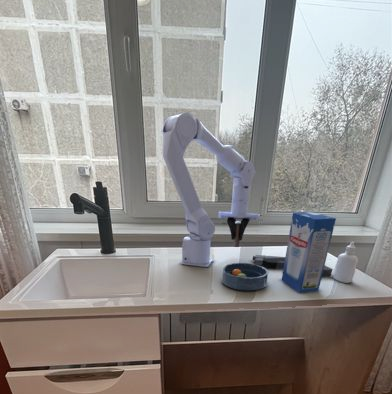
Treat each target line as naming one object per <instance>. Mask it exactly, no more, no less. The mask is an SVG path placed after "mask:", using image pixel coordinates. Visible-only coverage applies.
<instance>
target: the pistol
mask: <svg viewBox="0 0 392 394" xmlns="http://www.w3.org/2000/svg"><path fill="white" fill-rule="evenodd" d="M252 261H253V264H255V265H259V266H262V267H264V268H265V269H271V270H276V269H278V270H279V269H280V270H283V268H284V262H285V256H277V255H276V256H275V255H263V254H255V255H252ZM332 273H333V268H331V267H329V266H327V265H325V266H324V270H323V274H322V277H330V276H332Z"/></svg>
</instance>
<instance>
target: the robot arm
mask: <svg viewBox="0 0 392 394" xmlns="http://www.w3.org/2000/svg"><path fill="white" fill-rule="evenodd" d="M160 133H161V135H162V157H163V160H164V163H165V166H166V167H167V170H168V173H169V175H170V177H171V180H172V182H173V184H174V187H175V189H176V193H177V195H178V196H179V199H180V202H181V203H182V206H183V208H184V211H185V215H184V218H185V221H186V223H185V226H186V230H187V232H188V233H189V236H185V237H184V238H183V240H182V243H181V254H182V255H181V265H186V266H194V267H202V268H208V267H209V266H210V264H212V262H213V261H214V259H213V258H211V242H212V241H211V240H212V238H213V236H214V235H215V232H216V224H215V223H214V221H213V220H211V219H210V216H209V214H208V213H207V212H206V211H205V209H204V208H203V207H202V204H201V200H200V199H199V196H198V193H197V191H196V187H195V185H194V183H193V180H192V178H191V175H190V174H191V173H190V172H189V169H188V167H187V164H186V162H185V161H186V160H185V158H184V155H185V153H186V150H187V147H188V146H189V145H190V144H191V142H197V143H199V144H200V145H201V146H202V147H204V148H206V150H208V151H209V152H210V153H212V154H213V155H215V156H216V162H217V163H218V164H219V165H220V166H221V167H223V169H225V170H226V171H227V172H228V173H230V177H231V178H232V179H233V183H232V193H231V206H230V207H231V209H230V211H219V212H218V216H217V218H218V219H227V220H226V222H227V225H228V228H229V232H230V237H231V238H230V239H231V241H234V231H235V222H236V221H237V220H241V221H240V222H241V231H240V238H239V240H240V241H242V240H243V237H244V234H245V230H246V228H247V226H248V224H249V222H250V221H256V222H259V221H260V219H261V214H260V213H253V212H248V211H249V210H248V209H249V200H250V189H251V185H252V181H253V178H254V177H255V175H256V170H255V165H254V164H253V162H252V161H250V160H246V159H245V156H244V155H243V154H240V153H239V152H237V151H236V150H235V146H234V145H231V144H230V145H229V144H225V145H223V144H222V143H221V141H219V140H218V138H216V137H215V136H214V135H213V133H212V132H210V131H209V130H208V129H207V128H206V127H205V126H204V124H203V123H202V121H201V120H200V119H198V118H196V117H195V115H193V114H192V113H191V112H187V111H185V112H182V113H180V114H176V115H170V116H168V117H167V118H166V119H165V121H164V123H163V126H162V128H161V132H160Z"/></svg>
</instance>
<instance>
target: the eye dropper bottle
mask: <svg viewBox="0 0 392 394" xmlns="http://www.w3.org/2000/svg"><path fill="white" fill-rule="evenodd" d="M356 249H357V248H356V246H355V242H354V241H351V242H350V243H349V245H346V248H345V252H344V253H340V254H338V257H337V260H336V264H335V267H334V271H333V275H332V279H334V280H335V281H338V282H340V283H345V284H349V283H352V281H353V279H354V276H355V273H356V269H357V265H358V262H359V258H358V257H357V256H356V255H355V252H356Z"/></svg>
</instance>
